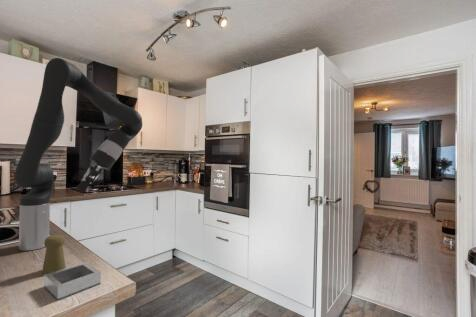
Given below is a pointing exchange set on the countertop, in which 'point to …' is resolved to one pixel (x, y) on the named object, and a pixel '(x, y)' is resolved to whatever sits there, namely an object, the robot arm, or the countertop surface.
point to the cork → (54, 254)
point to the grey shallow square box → (71, 280)
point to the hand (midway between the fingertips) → (78, 191)
